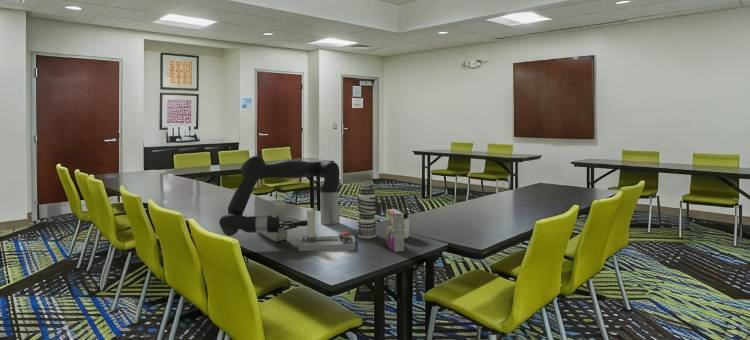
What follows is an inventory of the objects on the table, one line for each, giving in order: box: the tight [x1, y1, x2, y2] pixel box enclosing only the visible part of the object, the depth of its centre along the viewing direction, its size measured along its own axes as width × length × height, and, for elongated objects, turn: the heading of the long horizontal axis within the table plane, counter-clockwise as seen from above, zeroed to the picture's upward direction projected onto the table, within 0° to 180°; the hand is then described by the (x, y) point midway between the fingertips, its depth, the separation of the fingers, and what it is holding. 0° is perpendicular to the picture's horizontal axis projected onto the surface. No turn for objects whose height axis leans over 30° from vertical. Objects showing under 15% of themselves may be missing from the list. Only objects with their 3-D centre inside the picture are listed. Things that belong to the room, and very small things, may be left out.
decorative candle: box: [357, 183, 377, 239], centre depth 223 cm, size 9×9×25 cm
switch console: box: [298, 235, 356, 252], centre depth 208 cm, size 24×14×4 cm, turn 94°
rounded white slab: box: [254, 194, 288, 243], centre depth 226 cm, size 29×8×18 cm, turn 34°
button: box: [341, 231, 351, 237], centre depth 212 cm, size 4×4×2 cm
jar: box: [397, 209, 410, 240], centre depth 222 cm, size 9×8×12 cm
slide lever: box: [306, 207, 317, 241], centre depth 206 cm, size 4×4×14 cm
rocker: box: [338, 233, 353, 241], centre depth 204 cm, size 6×4×2 cm, turn 95°
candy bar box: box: [385, 208, 405, 253], centre depth 202 cm, size 11×5×16 cm, turn 17°
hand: (307, 223), depth 206 cm, fingers closed
